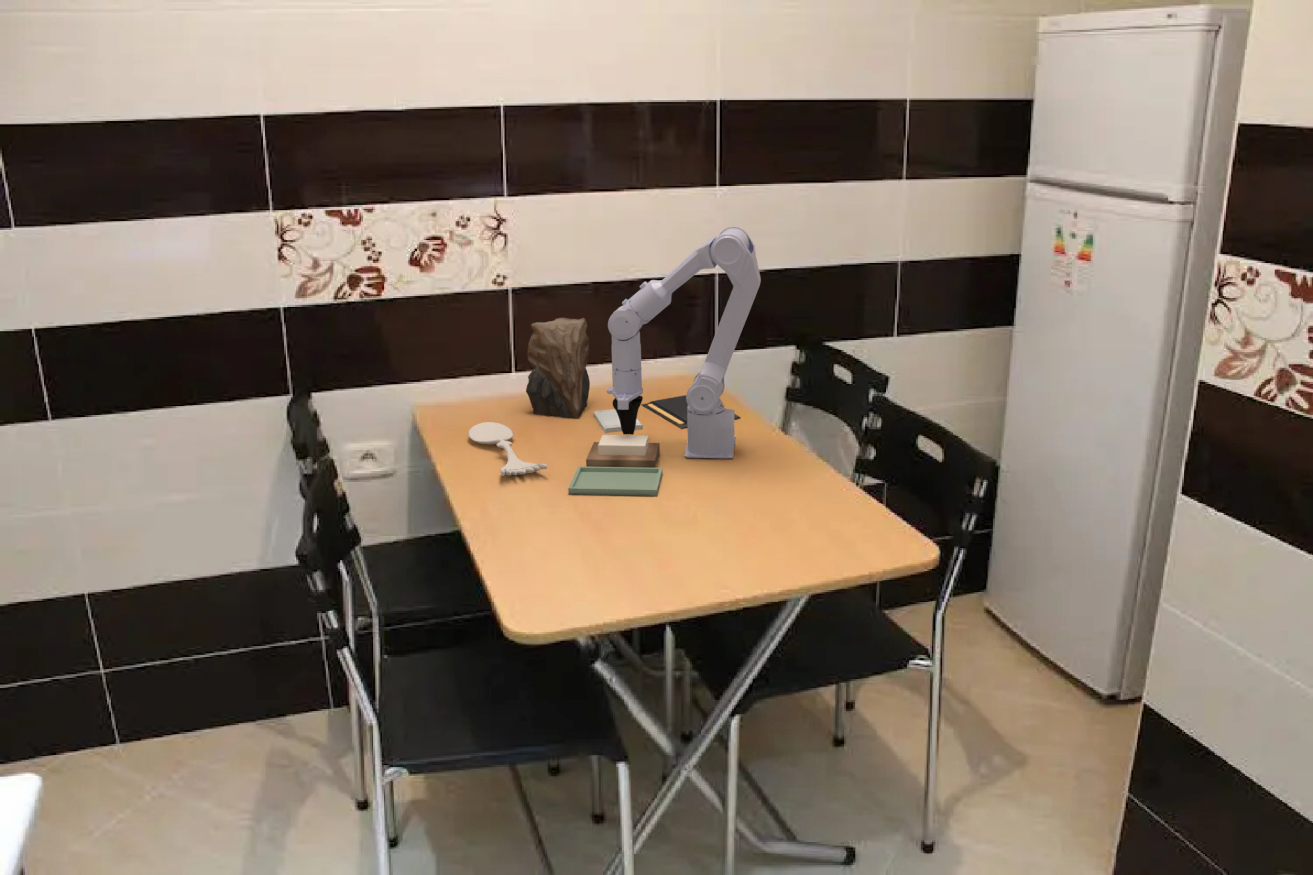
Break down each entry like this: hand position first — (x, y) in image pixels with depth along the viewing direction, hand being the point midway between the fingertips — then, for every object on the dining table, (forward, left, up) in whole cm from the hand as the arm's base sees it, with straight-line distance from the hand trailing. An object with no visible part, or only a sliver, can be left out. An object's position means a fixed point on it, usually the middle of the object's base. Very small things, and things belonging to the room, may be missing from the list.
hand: (628, 433), depth 224 cm
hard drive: (+5, -17, -4) cm, 18 cm away
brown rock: (+18, -24, -3) cm, 30 cm away
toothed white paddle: (+24, +5, -4) cm, 25 cm away
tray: (0, +19, -3) cm, 20 cm away
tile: (0, +8, -1) cm, 8 cm away
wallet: (-11, -25, -4) cm, 27 cm away
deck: (0, +8, -3) cm, 9 cm away
